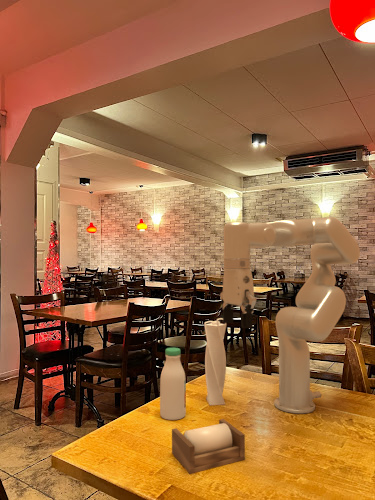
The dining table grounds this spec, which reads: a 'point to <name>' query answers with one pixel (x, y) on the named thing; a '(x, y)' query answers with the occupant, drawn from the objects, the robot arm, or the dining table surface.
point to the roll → (210, 438)
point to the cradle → (193, 463)
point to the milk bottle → (172, 387)
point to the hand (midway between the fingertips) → (237, 325)
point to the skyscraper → (215, 361)
